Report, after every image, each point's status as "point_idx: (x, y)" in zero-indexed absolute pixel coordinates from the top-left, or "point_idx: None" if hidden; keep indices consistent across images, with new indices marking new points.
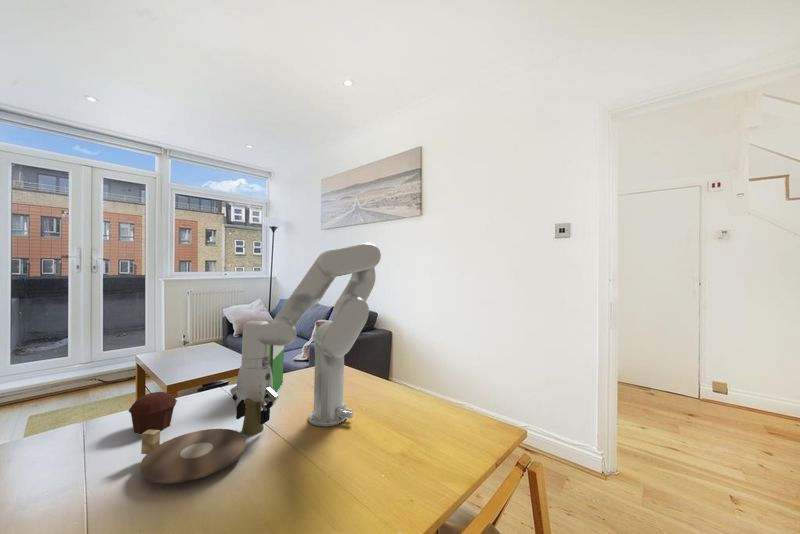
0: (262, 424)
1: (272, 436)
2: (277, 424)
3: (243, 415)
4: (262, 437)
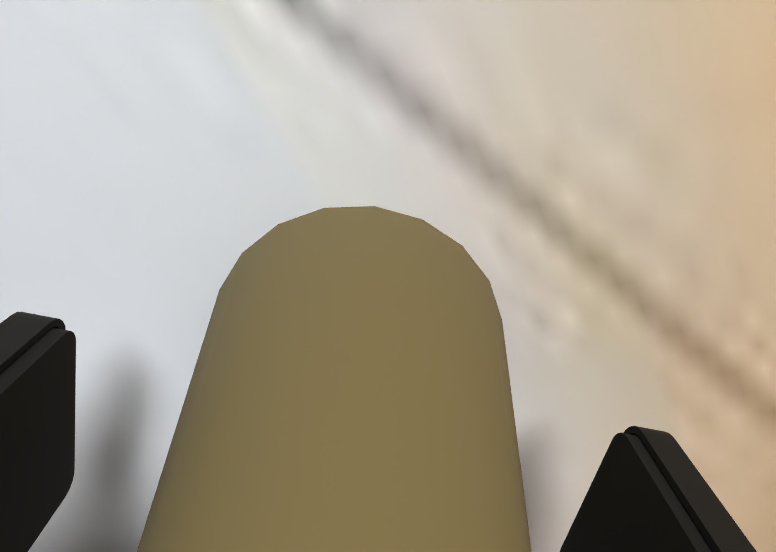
0: (508, 374)
1: (689, 446)
2: (667, 126)
3: (65, 384)
4: (572, 478)
